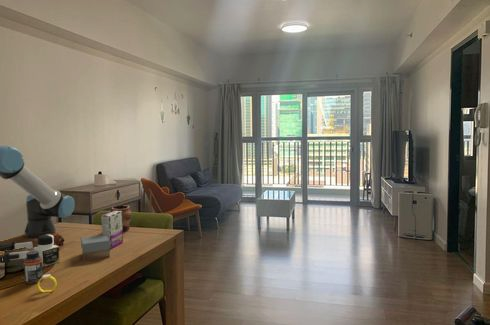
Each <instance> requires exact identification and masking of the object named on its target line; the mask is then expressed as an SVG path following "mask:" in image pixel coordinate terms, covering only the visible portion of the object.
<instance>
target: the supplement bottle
mask: <svg viewBox="0 0 490 325" xmlns="http://www.w3.org/2000/svg"><path fill="white" fill-rule="evenodd" d="M26 256H27V257H26V258H24V259H23V267H24V268H23V269H24V280H25V282H24V283H25V284H27V285H34V284H37V283H38V281H39V280H40V279H41V278H42V276H43V275H44V273H43V272H44V271H43V268H44V267H43V266H42V257H41V256H39V251H34V250H30V251H29V252H27V253H26ZM43 280H44V279H42V280H41V281H40V282H42V281H43Z"/></svg>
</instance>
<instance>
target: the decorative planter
mask: <svg viewBox="0 0 490 325" xmlns="http://www.w3.org/2000/svg"><path fill="white" fill-rule="evenodd" d="M112 211H122V228H123V232H125V231H128V230H130V228H131V227H130V222H131V220H132V212H131V209H130V205H125V204H122V205H115V206H112V207H111V209H110V212H112ZM110 212H109V213H110Z"/></svg>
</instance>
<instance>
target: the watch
mask: <svg viewBox="0 0 490 325" xmlns="http://www.w3.org/2000/svg"><path fill="white" fill-rule="evenodd" d="M42 279H43V280H47V279H50V280H52V281H53V284H54V286H53V288H52V289H46V290H44V289H42V287H41V282H42V281H43V280H42ZM41 280H42V281H41ZM36 284H37V285H36V288H37V290H38V291H39V292H40V293H43V294H44V293H52V292H54V290H55V289H56V288H57V284H58V283H57V279H56V278H55V277H54V276H52V274H50V273H49V274H43V276H42V278H41V279H40V280H39V281H38V283H36Z"/></svg>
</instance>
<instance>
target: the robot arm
mask: <svg viewBox="0 0 490 325" xmlns="http://www.w3.org/2000/svg"><path fill="white" fill-rule="evenodd" d="M23 157H24V156H23V154H22V152H21V151H20V150H19V149H17V148H16V147H14V146H9V145H8V146H7V145H1V146H0V178H2V179H3V180H11V182H13V183H14V184H15V185H17V186H18V187H19V188H20V189H22V190H23V191H25V193H27V194H28V195H27V196H26V200H25V201H26V217H27V223H26V226H25V229H24V237H25V238H31V239H32V238H33V239H34V238H35V239H36V238H38V237H40V236H42V235H47V234H54V233H57V228H56V226H55V224H54V222H53V220H52V218H53V217H54V218H59V219H60V218H62V219H63V218H68V217H70V216H71V215H72V213H74V212H73V211H74V210H75V206H76V205H75V204H76V203H75V199H74V197H72V196H71V195H65V194H63V193H62V192H61V191H60V190H58V189H53V188H51V187H50V186H49V185H48V184H47V183H46V182H44V181H43V180H42V179H41V178H40V177H38V176H37V175H36V174H35V173H33V172H32V170H30V169H29V168H28V167H27V166H25V164H26V163H25V161H24V160H25V159H24V158H23ZM24 247H26V248H28V249H27V250H24V251H17V252H9V254H8V253H3V254H4V256H0V264H9V263H10V261H14V260H21V259H23V260H25V259H26V257H27V256H26V253H27V252H30V251H29V249H34V247H33V241H27V242H19V243H16V242H15V241H12V242H10V243H5V244H0V251H5V250H11V251H14V250H13V249H19V248H24ZM2 258H3V261H2Z"/></svg>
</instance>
